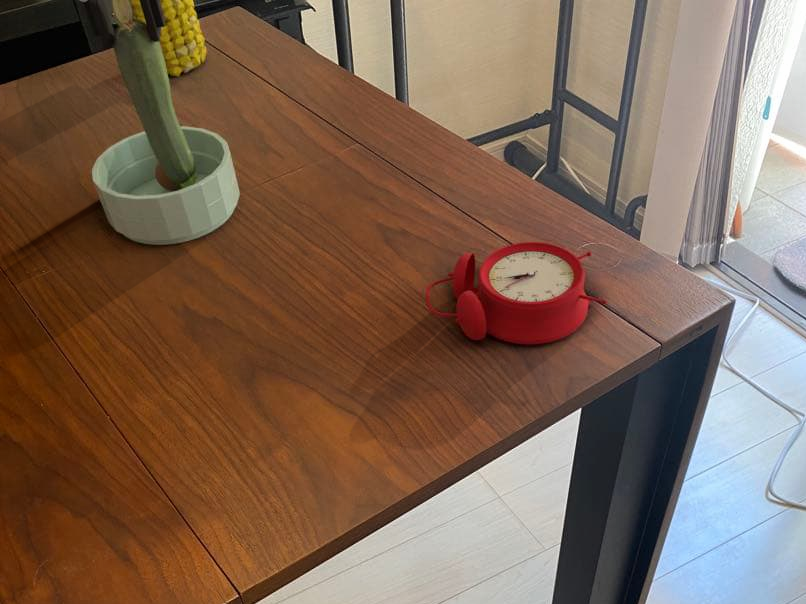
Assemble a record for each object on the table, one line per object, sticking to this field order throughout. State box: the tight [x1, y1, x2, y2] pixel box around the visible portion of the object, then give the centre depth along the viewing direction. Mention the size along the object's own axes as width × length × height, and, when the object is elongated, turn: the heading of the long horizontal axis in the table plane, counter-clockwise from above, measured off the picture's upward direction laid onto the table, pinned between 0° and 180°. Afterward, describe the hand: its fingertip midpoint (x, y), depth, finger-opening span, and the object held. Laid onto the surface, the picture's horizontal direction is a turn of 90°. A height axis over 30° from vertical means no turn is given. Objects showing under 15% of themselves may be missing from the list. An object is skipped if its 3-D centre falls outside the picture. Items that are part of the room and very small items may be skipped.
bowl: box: [91, 125, 241, 246], centre depth 89 cm, size 14×14×6 cm
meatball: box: [155, 163, 182, 191], centre depth 91 cm, size 3×3×3 cm
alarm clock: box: [425, 241, 607, 345], centre depth 75 cm, size 10×6×15 cm
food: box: [130, 0, 208, 77], centre depth 107 cm, size 15×12×10 cm
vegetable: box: [111, 0, 197, 188], centre depth 83 cm, size 4×4×20 cm
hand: (132, 36), depth 79 cm, fingers closed on vegetable, 3 cm apart
